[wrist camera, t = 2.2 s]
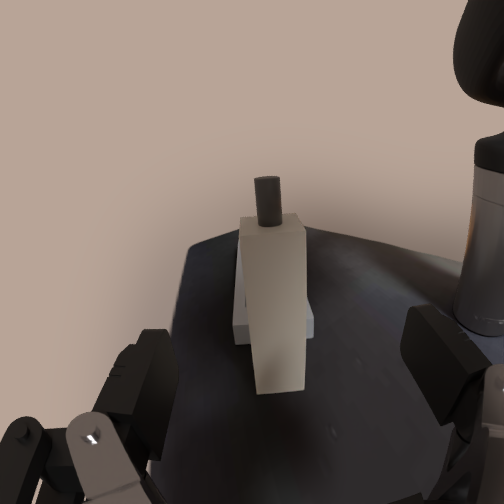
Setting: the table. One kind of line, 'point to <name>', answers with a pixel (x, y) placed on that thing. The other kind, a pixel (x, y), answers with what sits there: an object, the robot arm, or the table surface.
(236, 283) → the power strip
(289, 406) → the table surface
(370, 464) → the table surface
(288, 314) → the plug
